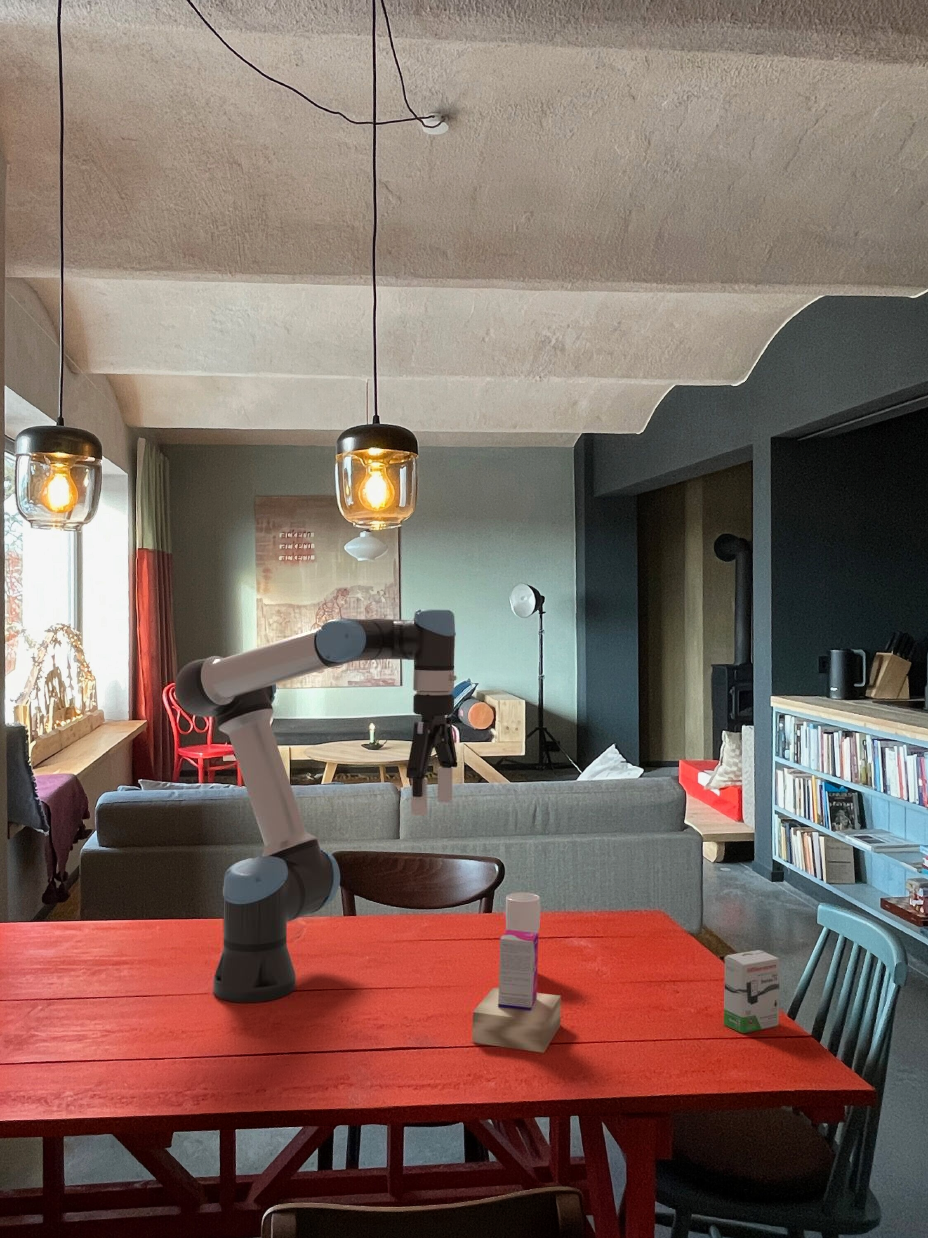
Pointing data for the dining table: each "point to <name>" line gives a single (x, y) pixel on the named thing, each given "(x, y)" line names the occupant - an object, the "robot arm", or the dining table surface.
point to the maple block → (517, 1023)
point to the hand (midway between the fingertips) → (432, 808)
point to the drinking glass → (523, 912)
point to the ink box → (751, 991)
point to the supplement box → (518, 970)
